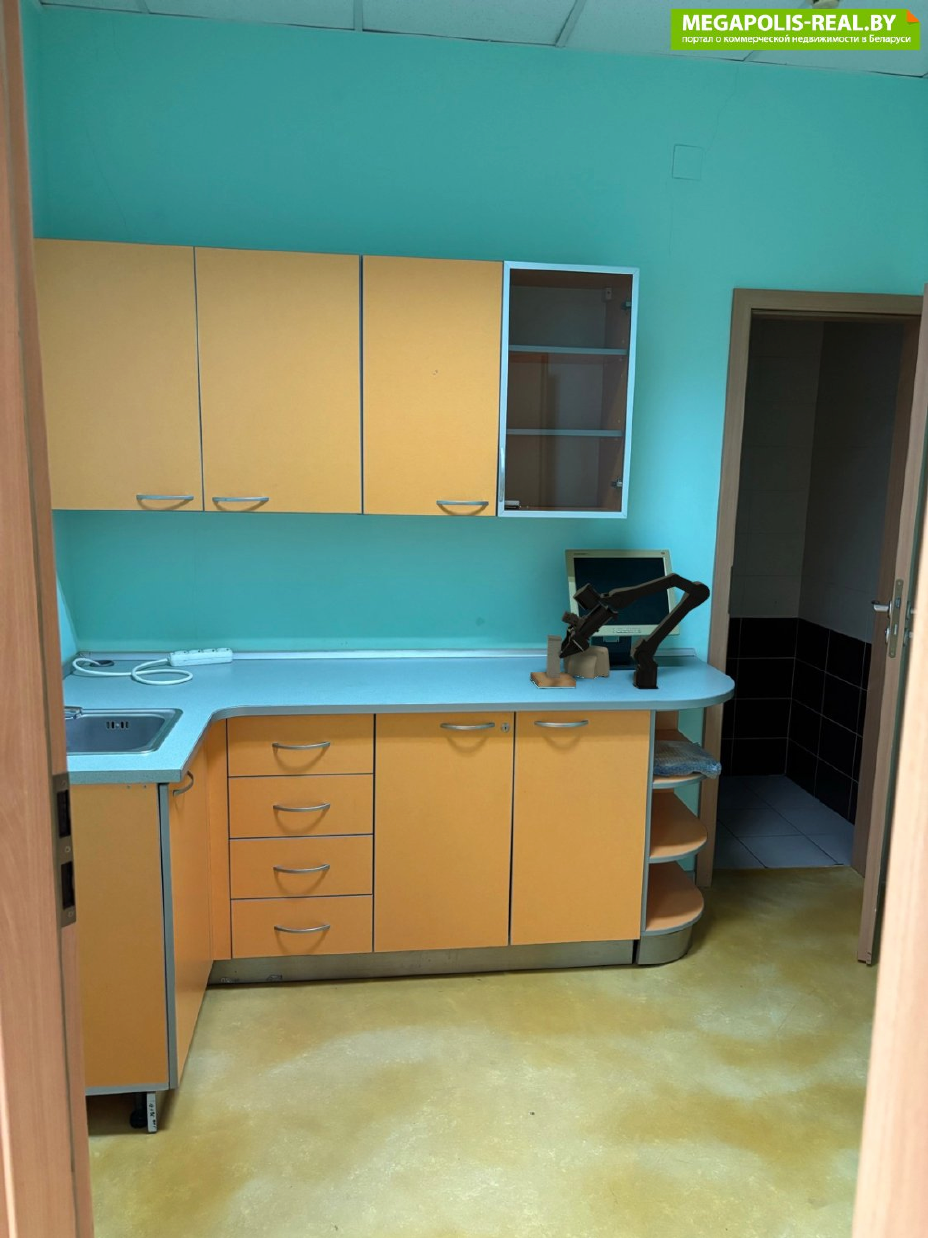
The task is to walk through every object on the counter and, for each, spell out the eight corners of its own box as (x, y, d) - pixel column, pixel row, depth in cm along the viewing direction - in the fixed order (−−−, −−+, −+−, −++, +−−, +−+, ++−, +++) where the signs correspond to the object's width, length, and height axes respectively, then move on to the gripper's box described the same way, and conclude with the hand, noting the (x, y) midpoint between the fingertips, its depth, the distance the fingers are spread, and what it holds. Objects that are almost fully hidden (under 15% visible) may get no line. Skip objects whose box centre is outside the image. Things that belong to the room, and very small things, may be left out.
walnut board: (566, 679, 304) (566, 671, 303) (575, 688, 292) (576, 680, 292) (530, 679, 302) (530, 672, 302) (538, 689, 290) (538, 681, 290)
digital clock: (612, 677, 308) (614, 645, 306) (598, 682, 301) (600, 649, 299) (570, 669, 318) (571, 638, 316) (556, 674, 311) (557, 642, 309)
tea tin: (559, 674, 299) (560, 635, 297) (560, 678, 294) (561, 638, 292) (545, 674, 299) (547, 635, 297) (546, 678, 294) (548, 638, 292)
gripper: (574, 597, 301) (539, 630, 304) (579, 607, 283) (542, 642, 285) (598, 622, 302) (563, 654, 305) (605, 633, 284) (567, 668, 286)
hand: (558, 654), depth 295 cm, fingers open, 9 cm apart
